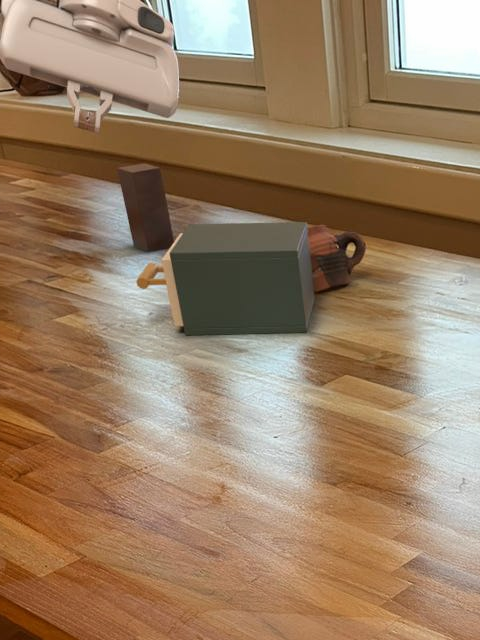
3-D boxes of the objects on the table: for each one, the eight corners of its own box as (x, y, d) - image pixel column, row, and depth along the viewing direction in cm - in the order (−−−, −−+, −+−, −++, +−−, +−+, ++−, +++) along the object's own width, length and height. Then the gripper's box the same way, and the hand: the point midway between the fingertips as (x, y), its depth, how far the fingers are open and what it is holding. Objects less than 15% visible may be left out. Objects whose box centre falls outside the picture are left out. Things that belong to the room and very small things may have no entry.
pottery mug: (295, 301, 127) (269, 238, 126) (296, 311, 137) (271, 253, 135) (379, 267, 129) (354, 205, 127) (374, 280, 138) (350, 223, 136)
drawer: (139, 327, 116) (124, 260, 111) (158, 296, 125) (146, 233, 120) (287, 324, 117) (278, 257, 112) (296, 293, 126) (288, 231, 121)
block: (148, 252, 144) (132, 172, 137) (133, 246, 147) (116, 167, 140) (175, 246, 147) (160, 167, 140) (159, 240, 149) (144, 163, 142)
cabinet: (185, 335, 116) (169, 252, 110) (203, 301, 126) (189, 224, 120) (306, 332, 117) (297, 250, 111) (315, 298, 127) (306, 221, 121)
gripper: (2, -35, 110) (-10, 89, 110) (187, 29, 118) (174, 144, 119) (4, -6, 115) (-8, 111, 116) (180, 53, 124) (169, 162, 125)
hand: (86, 128), depth 118 cm, fingers closed
